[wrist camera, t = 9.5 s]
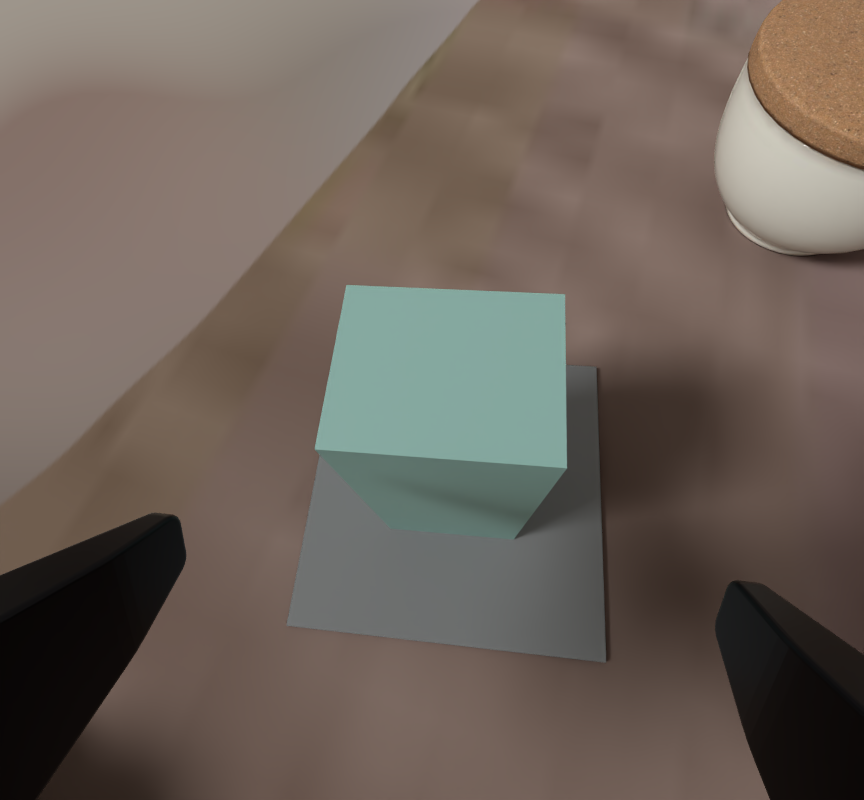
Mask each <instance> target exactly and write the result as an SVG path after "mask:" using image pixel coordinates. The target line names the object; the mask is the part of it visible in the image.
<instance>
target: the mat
mask: <svg viewBox="0 0 864 800" xmlns="http://www.w3.org/2000/svg"><path fill="white" fill-rule="evenodd" d="M566 425H567V469H566V470H565V472H564V473H563V474H562V476H561V477H560V478H559V480H558V481H557V482H556V484H555V485H554V486H553V488H552V489H551V490H550V492H549V493H548V494H547V496H546V497H545V498H544V500H543V501H542V502H541V504H540V505H539V506H538V508H537V509H536V510H535V512H534V513H533V514H532V516H531V517H530V518H529V520H528V521H527V522H526V524H525V525H524V526H523V528H522V529H521V530H520V532H519V533H518V534H517V536H516V537H515V538H514V540H513V539H502V538H491V537H480V536H468V535H457V534H446V533H435V532H424V531H412V530H401V529H390V528H389V527H388V526H387V524H386V523H385V522H384V521H383V520H382V519H381V518H380V517H379V516H378V515H377V514H376V513H375V512H374V511H373V510H372V509H371V508H370V507H369V506H368V505H367V504H366V503H365V501H364V500H363V499H362V498H361V497H360V496H359V495H358V494H357V493H356V492H355V491H354V490H353V489H352V488H351V487H350V486H349V485H348V484H347V483H346V482H345V481H344V479H343V478H342V477H341V476H340V475H339V474H338V473H337V472H336V471H335V470H334V469H333V468H332V467H331V466H330V465H329V464H328V463H327V462H326V461H325V460H324V459H323V458H322V456H321V455H320V456H319V461H318V466H317V472H316V477H315V482H314V487H313V492H312V497H311V502H310V507H309V513H308V518H307V523H306V528H305V533H304V538H303V543H302V549H301V554H300V559H299V564H298V569H297V574H296V579H295V584H294V590H293V595H292V600H291V605H290V610H289V615H288V620H287V625H286V626H294V627H303V628H311V629H320V630H329V631H337V632H346V633H355V634H363V635H372V636H380V637H389V638H398V639H406V640H415V641H423V642H432V643H441V644H449V645H458V646H467V647H475V648H484V649H492V650H501V651H510V652H518V653H527V654H536V655H544V656H553V657H561V658H570V659H579V660H587V661H596V662H604V663H606V640H605V610H604V580H603V550H602V520H601V490H600V460H599V430H598V400H597V369H596V367H591V366H574V365H566Z"/></svg>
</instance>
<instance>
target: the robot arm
mask: <svg viewBox="0 0 864 800" xmlns="http://www.w3.org/2000/svg"><path fill="white" fill-rule="evenodd" d="M185 561H186V549H185V544H184V538H183V533H182V528H181V523H180V520H179V519H178V517H177V516H175V515H171V514H162V513H151V514H148V515H146V516H143V517H141V518H138V519H136V520H133V521H131V522H129V523H126V524H124V525H121V526H119V527H116V528H114V529H112V530H109V531H107V532H104V533H102V534H99V535H97V536H95V537H92V538H90V539H87V540H85V541H82V542H80V543H78V544H75V545H73V546H70V547H68V548H65V549H63V550H61V551H58V552H56V553H53V554H51V555H48V556H46V557H44V558H41V559H39V560H36V561H34V562H31V563H29V564H27V565H24V566H22V567H19V568H17V569H14V570H12V571H10V572H7V573H5V574H2V575H0V800H36V799H37V798H38V796H39V795H40V794H41V792H42V791H43V789H44V788H45V786H46V785H47V783H48V782H49V780H50V779H51V777H52V776H53V774H54V773H55V771H56V770H57V769H58V767H59V766H60V764H61V763H62V761H63V760H64V758H65V757H66V755H67V754H68V752H69V751H70V749H71V748H72V746H73V745H74V743H75V742H76V741H77V739H78V738H79V736H80V735H81V733H82V732H83V730H84V729H85V727H86V726H87V724H88V723H89V721H90V720H91V718H92V717H93V716H94V714H95V713H96V711H97V710H98V708H99V707H100V705H101V704H102V702H103V701H104V699H105V698H106V696H107V695H108V693H109V692H110V691H111V689H112V688H113V686H114V685H115V683H116V682H117V680H118V679H119V677H120V676H121V674H122V673H123V671H124V670H125V668H126V667H127V665H128V664H129V662H130V661H131V659H132V658H133V656H134V655H135V653H136V652H137V650H138V648H139V646H140V645H141V643H142V641H143V640H144V638H145V636H146V635H147V633H148V631H149V629H150V627H151V625H152V624H153V622H154V620H155V618H156V616H157V615H158V613H159V611H160V609H161V607H162V606H163V604H164V602H165V600H166V598H167V597H168V595H169V593H170V591H171V589H172V588H173V586H174V584H175V582H176V580H177V579H178V577H179V575H180V573H181V571H182V569H183V567H184V565H185ZM715 631H716V637H717V641H718V644H719V647H720V651H721V654H722V658H723V661H724V665H725V668H726V671H727V675H728V678H729V682H730V685H731V689H732V692H733V696H734V699H735V702H736V706H737V709H738V713H739V716H740V720H741V723H742V726H743V729H744V732H745V736H746V739H747V742H748V745H749V747H750V750H751V753H752V755H753V758H754V761H755V763H756V766H757V768H758V771H759V773H760V776H761V778H762V781H763V783H764V786H765V788H766V791H767V793H768V796H769V798H770V800H864V655H863V654H862V653H860V652H859V651H857V650H856V649H854V648H853V647H852V646H850V645H849V644H847V643H846V642H845V641H843V640H842V639H840V638H839V637H837V636H836V635H835V634H833V633H832V632H830V631H829V630H827V629H826V628H825V627H823V626H822V625H820V624H819V623H818V622H816V621H815V620H813V619H812V618H810V617H809V616H808V615H806V614H805V613H803V612H802V611H800V610H799V609H798V608H796V607H795V606H793V605H792V604H791V603H789V602H788V601H786V600H785V599H783V598H782V597H781V596H779V595H778V594H776V593H775V592H773V591H772V590H771V589H769V588H768V587H766V586H765V585H763V584H760V583H755V582H746V581H738V580H737V581H732V582H731V583H730V584H729V585H728V587H727V589H726V592H725V595H724V598H723V601H722V604H721V607H720V609H719V612H718V615H717V618H716V624H715Z"/></svg>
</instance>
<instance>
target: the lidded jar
mask: <svg viewBox="0 0 864 800" xmlns="http://www.w3.org/2000/svg"><path fill="white" fill-rule="evenodd" d="M714 169H715V177H716V183H717V187H718V190H719V193H720V195H721V197H722V200H723V202H724V203H725V207H726V211H727V214H728V216H729V218H730V220H731V222H732V223H733V224H734V226H735V227H736V228H737V229H738V230H739V231H740V232H741V233H742V234H743V235H744V236H745V237H747V238H748V239H749V240H751V241H752V242H754V243H756V244H757V245H759V246H761V247H763V248H766V249H768V250H771V251H774V252H777V253H781V254H787V255H795V256H808V255H815V254H830V253H846V252H852V251H857V250H862V249H864V0H782V1H781V2H780V3H779V4H778V5H777V6H776V7H774V8H773V9H772V10H771V12H770V13H769V14H768V16H767V17H766V18H765V20H764V21H763V23H762V25H761V27H760V29H759V31H758V33H757V35H756V37H755V39H754V42H753V44H752V47H751V49H750V52H749V55H748V59H747V61H746V63H745V64H744V66H743V68H742V70H741V72H740V75H739V77H738V79H737V81H736V83H735V85H734V87H733V90H732V92H731V95H730V97H729V100H728V102H727V105H726V108H725V110H724V113H723V116H722V119H721V122H720V126H719V130H718V134H717V138H716V144H715V154H714Z"/></svg>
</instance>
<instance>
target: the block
mask: <svg viewBox="0 0 864 800" xmlns="http://www.w3.org/2000/svg"><path fill="white" fill-rule="evenodd" d="M315 450H316V451H317V452H318V453H319V454H320V455H321V456H322V458H323V459H324V460H325V461H326V462H327V463H328V464H329V465H330V466H331V467H332V468H333V469H334V470H335V471H336V472H337V473H338V474H339V475H340V476H341V477H342V478H343V479H344V481H345V482H346V483H347V484H348V485H349V486H350V487H351V488H352V489H353V490H354V491H355V492H356V493H357V494H358V495H359V496H360V497H361V498H362V499H363V500H364V501H365V503H366V504H367V505H368V506H369V507H370V508H371V509H372V510H373V511H374V512H375V513H376V514H377V515H378V516H379V517H380V518H381V519H382V520H383V521H384V522H385V523H386V524H387V526H388V527H389V528H390V529H401V530H412V531H424V532H435V533H446V534H457V535H468V536H480V537H491V538H502V539H513V540H514V538H515V537H516V536H517V534H518V533H519V532H520V530H521V529H522V528H523V526H524V525H525V524H526V522H527V521H528V520H529V518H530V517H531V516H532V514H533V513H534V512H535V510H536V509H537V508H538V506H539V505H540V504H541V502H542V501H543V500H544V498H545V497H546V496H547V494H548V493H549V492H550V490H551V489H552V488H553V486H554V485H555V484H556V482H557V481H558V480H559V478H560V477H561V476H562V474H563V473H564V472H565V470H566V469H567V425H566V344H565V294H543V293H520V292H497V291H473V290H450V289H426V288H403V287H379V286H356V285H347V286H346V291H345V296H344V301H343V306H342V311H341V316H340V322H339V327H338V332H337V337H336V342H335V347H334V352H333V358H332V363H331V368H330V373H329V378H328V383H327V388H326V393H325V399H324V404H323V409H322V414H321V419H320V424H319V429H318V435H317V440H316V445H315Z"/></svg>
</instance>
